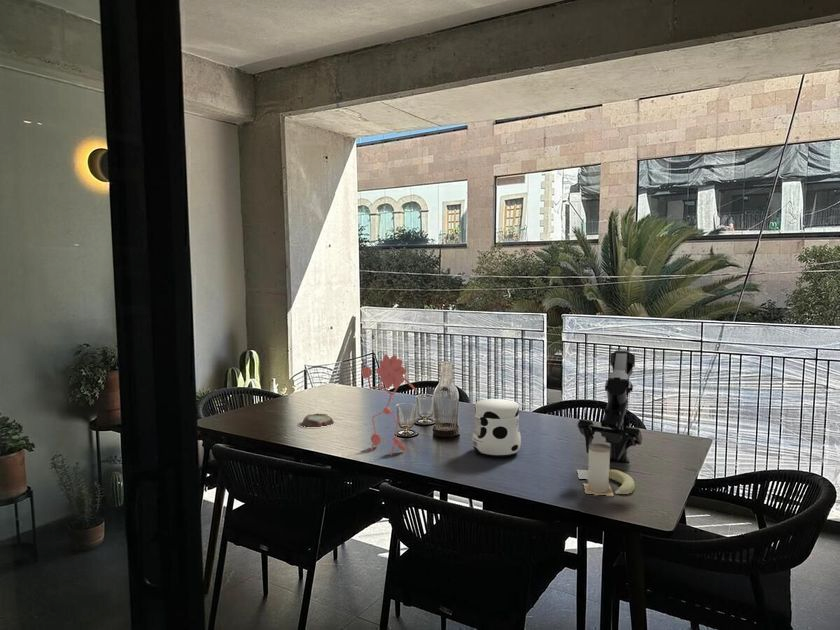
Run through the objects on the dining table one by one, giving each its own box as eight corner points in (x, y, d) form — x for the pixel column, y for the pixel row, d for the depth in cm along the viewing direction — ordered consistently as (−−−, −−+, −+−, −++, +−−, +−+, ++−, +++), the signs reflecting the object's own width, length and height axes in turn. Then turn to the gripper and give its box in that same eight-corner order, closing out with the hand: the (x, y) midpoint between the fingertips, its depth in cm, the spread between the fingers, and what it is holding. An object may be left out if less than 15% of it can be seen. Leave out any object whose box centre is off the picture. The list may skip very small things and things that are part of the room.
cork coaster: (583, 484, 181) (583, 483, 181) (610, 486, 180) (610, 485, 180) (585, 494, 174) (585, 493, 174) (613, 496, 172) (613, 495, 172)
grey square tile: (576, 470, 193) (576, 469, 193) (602, 472, 192) (602, 471, 192) (578, 479, 186) (578, 478, 186) (605, 481, 184) (605, 480, 184)
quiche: (283, 424, 253) (283, 415, 253) (325, 416, 265) (325, 407, 265) (305, 435, 237) (305, 425, 236) (349, 426, 249) (349, 417, 249)
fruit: (626, 477, 188) (626, 467, 188) (640, 496, 173) (640, 485, 173) (603, 477, 189) (603, 467, 188) (615, 495, 174) (615, 485, 173)
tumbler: (585, 485, 180) (586, 443, 179) (604, 485, 180) (606, 443, 179) (591, 492, 174) (592, 449, 173) (611, 492, 174) (613, 449, 173)
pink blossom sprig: (409, 460, 203) (409, 360, 201) (352, 447, 218) (352, 354, 215) (433, 449, 216) (434, 355, 214) (378, 438, 231) (378, 349, 228)
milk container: (528, 450, 214) (529, 402, 213) (507, 464, 200) (508, 412, 198) (486, 442, 224) (486, 396, 222) (463, 454, 210) (463, 405, 208)
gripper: (650, 429, 185) (638, 474, 177) (591, 420, 196) (579, 462, 188) (643, 411, 178) (631, 456, 170) (583, 402, 189) (570, 445, 181)
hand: (602, 455), depth 178 cm, fingers open, 9 cm apart
